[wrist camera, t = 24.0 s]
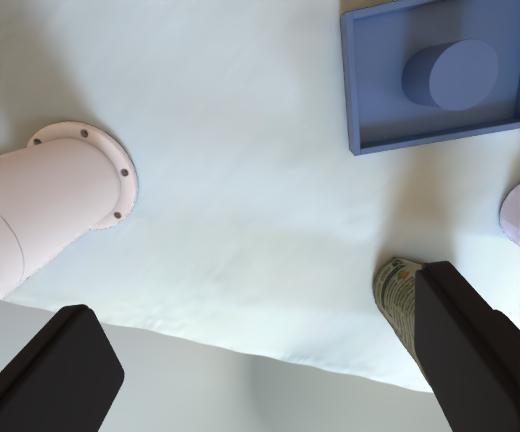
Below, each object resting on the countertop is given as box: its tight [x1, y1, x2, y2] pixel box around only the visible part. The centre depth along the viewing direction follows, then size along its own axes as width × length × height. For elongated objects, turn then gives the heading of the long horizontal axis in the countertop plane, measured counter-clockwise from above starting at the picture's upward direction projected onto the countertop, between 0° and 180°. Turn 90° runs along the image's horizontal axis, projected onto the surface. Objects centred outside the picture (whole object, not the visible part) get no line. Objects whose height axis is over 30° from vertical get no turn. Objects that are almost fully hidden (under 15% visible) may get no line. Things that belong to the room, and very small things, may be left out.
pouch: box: [373, 257, 430, 385], centre depth 28 cm, size 11×12×25 cm
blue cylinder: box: [401, 39, 499, 111], centre depth 26 cm, size 5×5×6 cm
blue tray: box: [340, 0, 520, 156], centre depth 28 cm, size 16×12×2 cm
